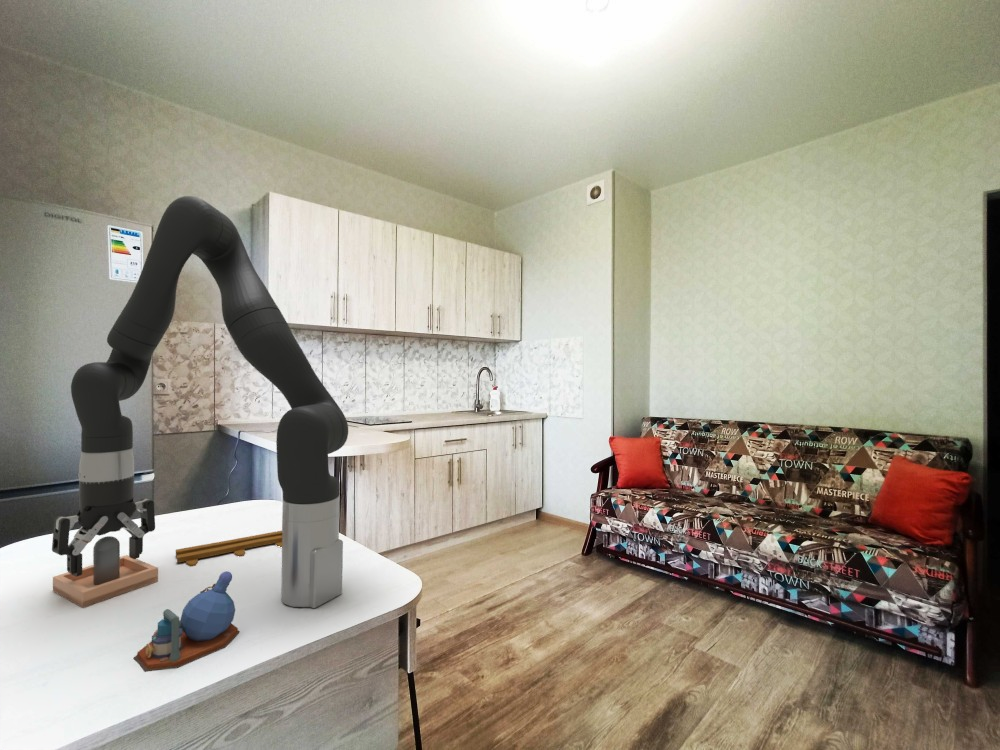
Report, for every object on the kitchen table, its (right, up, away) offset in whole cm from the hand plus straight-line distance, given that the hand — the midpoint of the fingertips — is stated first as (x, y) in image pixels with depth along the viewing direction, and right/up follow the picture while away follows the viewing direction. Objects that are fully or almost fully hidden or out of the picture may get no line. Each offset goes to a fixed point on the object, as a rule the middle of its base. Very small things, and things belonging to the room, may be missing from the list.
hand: (106, 566), depth 84 cm
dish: (0, -4, 0) cm, 4 cm away
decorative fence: (+14, -4, +19) cm, 24 cm away
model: (+25, -5, -16) cm, 31 cm away
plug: (0, -3, 0) cm, 3 cm away
